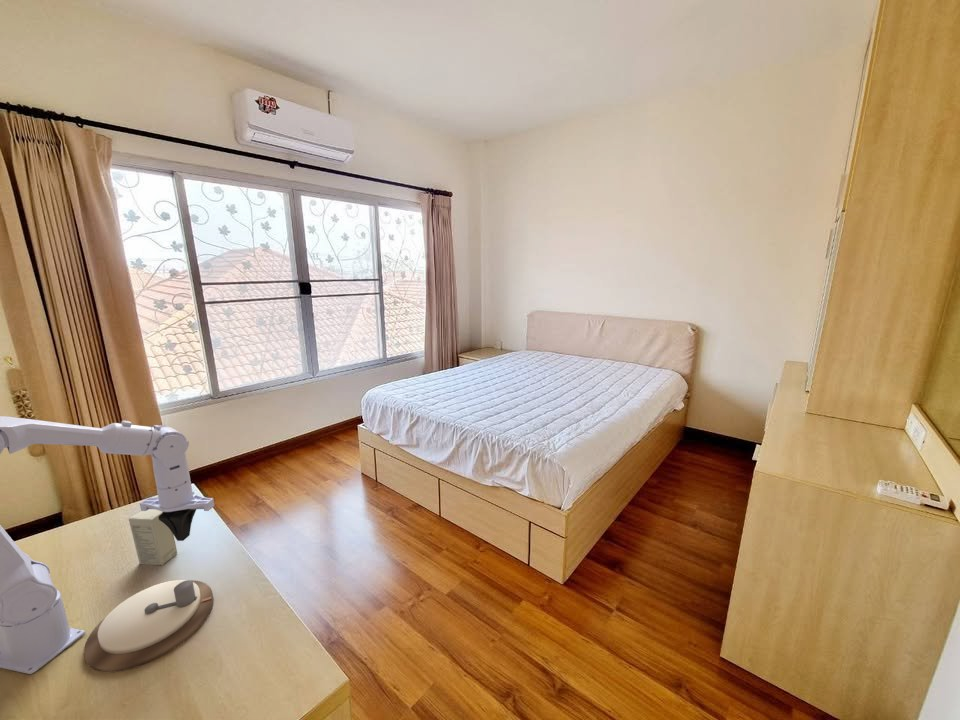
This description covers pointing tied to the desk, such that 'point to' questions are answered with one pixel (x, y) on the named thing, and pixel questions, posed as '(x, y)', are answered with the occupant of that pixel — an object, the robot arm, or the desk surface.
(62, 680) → the desk surface
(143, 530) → the skincare box
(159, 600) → the dial
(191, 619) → the dial base
